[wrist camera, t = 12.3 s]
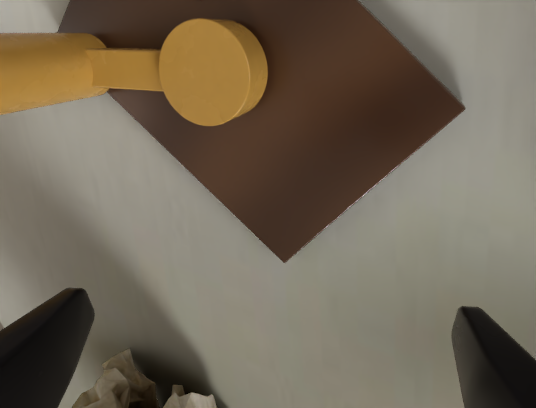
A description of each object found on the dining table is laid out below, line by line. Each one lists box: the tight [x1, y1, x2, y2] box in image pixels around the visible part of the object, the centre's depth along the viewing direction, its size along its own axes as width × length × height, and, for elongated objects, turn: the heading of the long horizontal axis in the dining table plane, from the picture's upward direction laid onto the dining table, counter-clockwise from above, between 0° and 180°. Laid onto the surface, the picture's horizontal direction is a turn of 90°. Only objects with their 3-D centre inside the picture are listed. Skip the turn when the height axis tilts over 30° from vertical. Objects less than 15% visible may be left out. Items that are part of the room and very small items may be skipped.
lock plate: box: [57, 0, 465, 263], centre depth 20 cm, size 18×12×1 cm, turn 49°
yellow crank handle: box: [0, 18, 268, 126], centre depth 15 cm, size 12×4×11 cm, turn 89°
